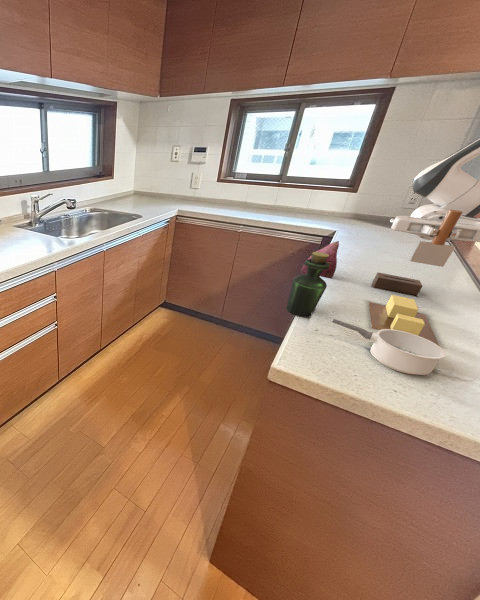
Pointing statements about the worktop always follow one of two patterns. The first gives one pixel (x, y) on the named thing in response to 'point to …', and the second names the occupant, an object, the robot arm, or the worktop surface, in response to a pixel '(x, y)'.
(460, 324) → the worktop surface
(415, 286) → the dark brown rectangular block
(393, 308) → the butter block
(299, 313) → the potion bottle
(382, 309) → the cutting board
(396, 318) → the butter slice
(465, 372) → the worktop surface
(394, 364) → the saucepan
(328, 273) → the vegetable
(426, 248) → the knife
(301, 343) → the worktop surface
